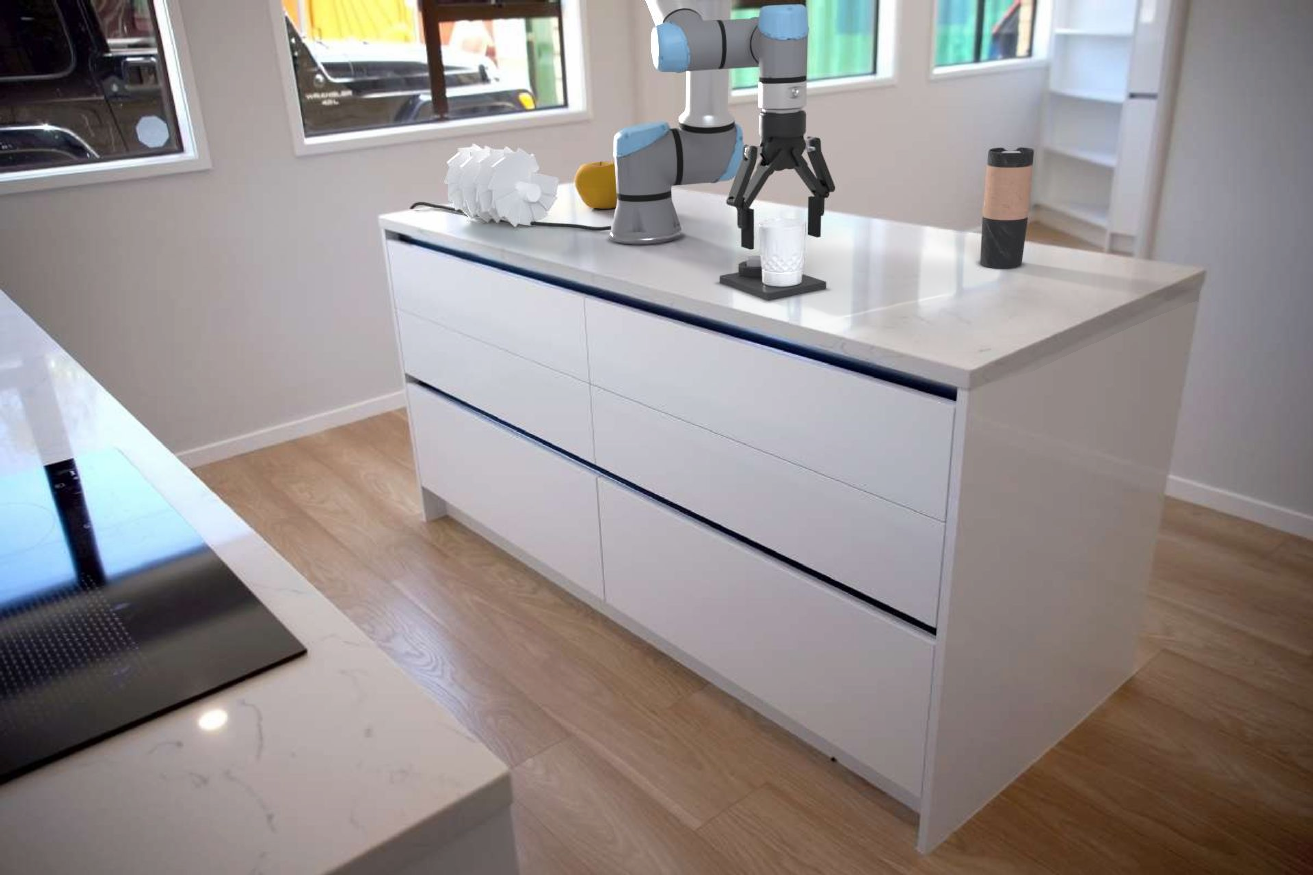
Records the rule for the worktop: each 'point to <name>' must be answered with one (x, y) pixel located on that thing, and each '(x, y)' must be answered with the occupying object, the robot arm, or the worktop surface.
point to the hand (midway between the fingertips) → (781, 242)
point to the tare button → (754, 261)
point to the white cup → (782, 251)
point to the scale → (753, 285)
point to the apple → (597, 184)
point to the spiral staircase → (499, 185)
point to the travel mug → (1006, 207)
